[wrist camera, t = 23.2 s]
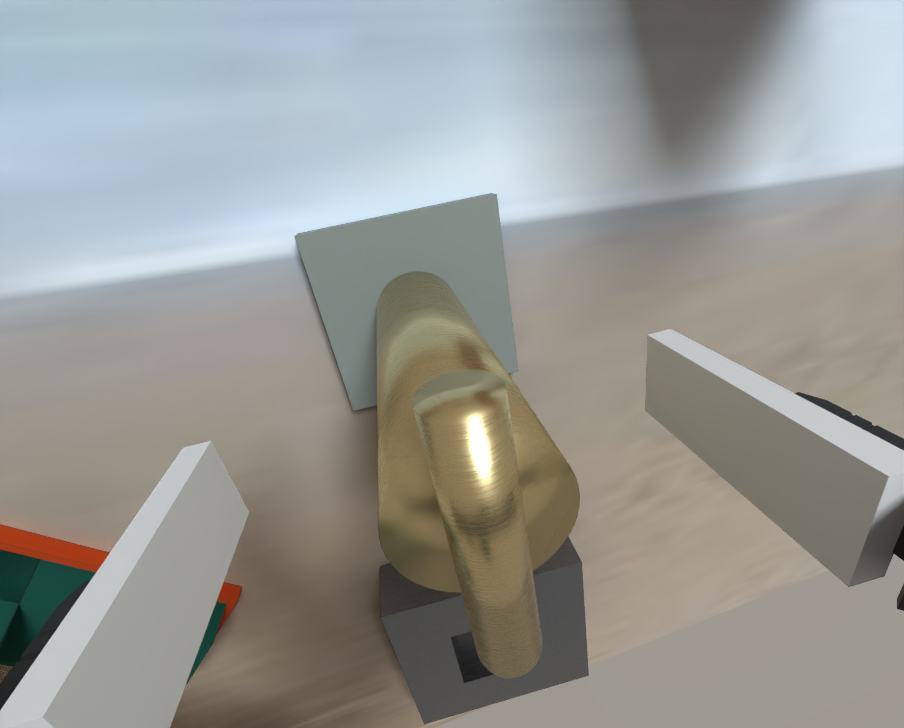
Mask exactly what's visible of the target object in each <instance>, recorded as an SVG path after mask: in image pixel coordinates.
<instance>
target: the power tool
mask: <svg viewBox="0 0 904 728" xmlns="http://www.w3.org/2000/svg"><path fill="white" fill-rule="evenodd" d="M109 554H110V553H109V552H105V551H101V550H97V549H93V548H90V547H86V546H82V545H78V544H74V543H70V542H66V541H62V540H59V539H55V538H51V537H47V536H43V535H39V534H35V533H32V532H28V531H24V530H20V529H16V528H12V527H8V526H4V525H1V524H0V664H1V665H7V666H14V665H15V663H17V662H20V660H21V655H22V654H23V653H24V651H25V650H26V648H27V647H28V646H29V644H30V643H31V642H32V640H33V639H36V638H37V637H38V634H37V633H38V632H39V631H40V629H41V628H42V627H43V625H44V624H45V622H46V621H47V620H48V618H49V617H50V616H51V614H52V613H53V612H54V610H55V609H56V607H57V606H58V605H59V604H60V603H61V602H63V601H64V600H65V599H66V598H67V597H68V596H69V595H70V594H71V593H72V592H73V591H74V590H75V589H76V588H77V587H78V586H79V585H80V584H82V583H83V582H84V581H87V580H91V579H92V578H93V577H94V575H95V574H96V572H97V571H98V569H99V568H100V566H101V565H102V564H103V562H104V561H105V559H106V558H107V556H108V555H109ZM241 589H242V587H241V586H237V585H233V584H229V583H225V582H223V585H222V588H221V590H220V593H219V596H218V599H217V601H216V604H215V607H214V609H213V612H212V615H211V618H210V620H209V623H208V626H207V628H206V631H205V634H204V637H203V639H202V642H201V645H200V647H199V650H198V653H197V656H196V658H195V661H194V664H193V666H192V669H191V672H190V675H189V677H188V680H187V683H188V681H189V680H190V678H191V677H192V675H193V674H194V672H195V670H196V669H197V667H198V666H199V664H200V663H201V661H202V660H203V658H204V656H205V655H206V653H207V652H208V650H209V649H210V647H211V646H212V644H213V642H214V639H215V636H216V634H217V632H218V631H219V629H220V628H221V626H222V624H223V623H224V621H225V620H226V618H227V617H228V615H229V614H230V612H231V610H232V609H233V607H234V606H235V604H236V603H237V601H238V598H239V595H240V592H241ZM187 683H186V685H187ZM186 685H185V686H186Z"/></svg>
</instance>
